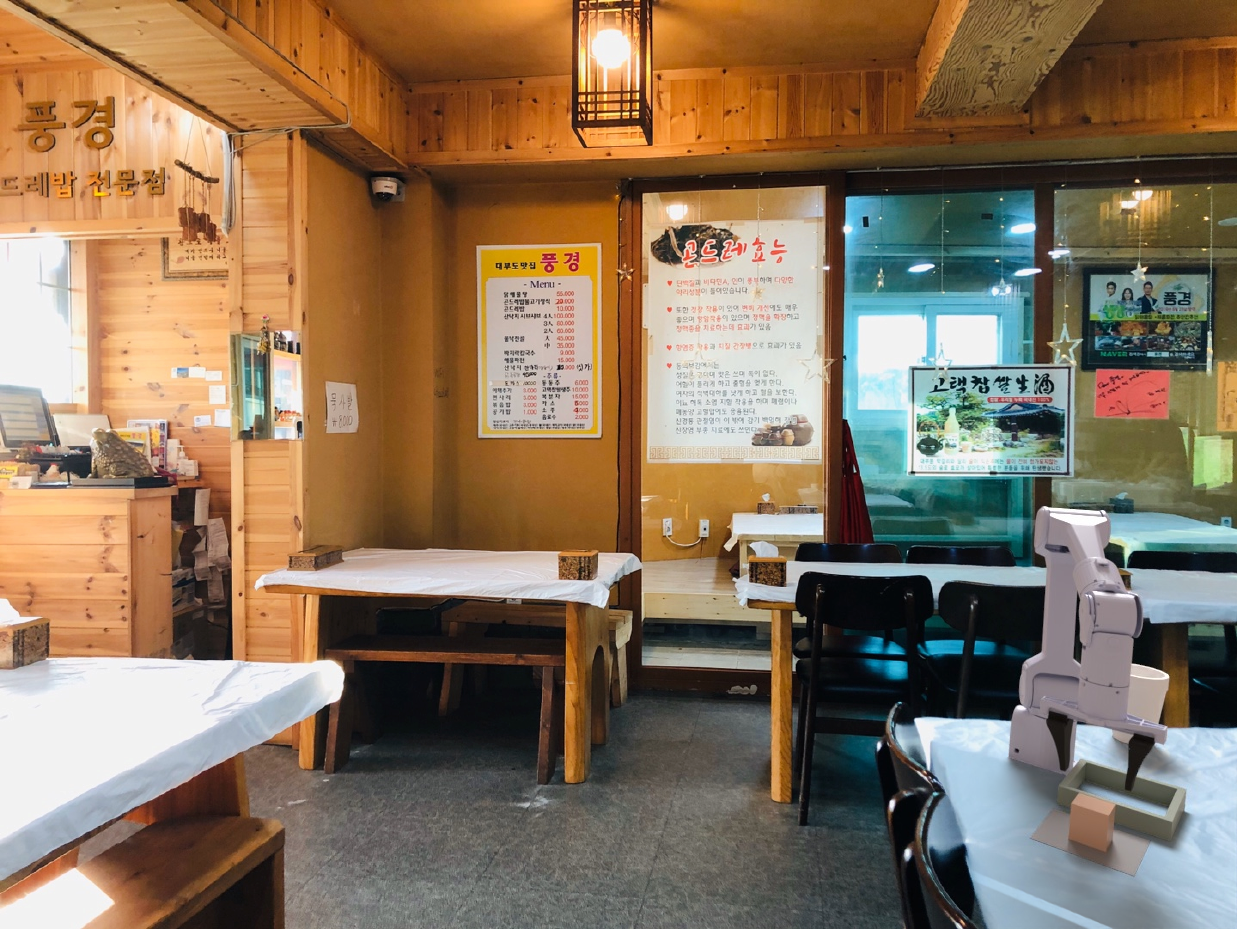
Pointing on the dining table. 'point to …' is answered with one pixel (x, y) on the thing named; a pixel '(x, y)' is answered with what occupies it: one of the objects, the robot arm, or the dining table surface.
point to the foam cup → (1145, 696)
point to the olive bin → (1142, 789)
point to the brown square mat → (1118, 856)
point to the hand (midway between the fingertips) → (1096, 778)
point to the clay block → (1092, 822)
